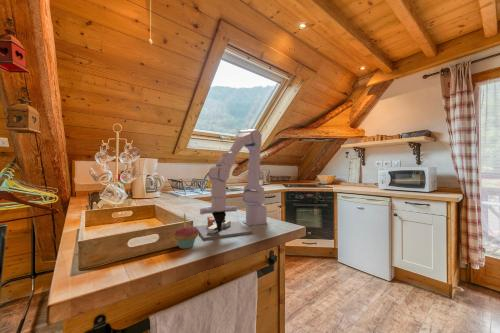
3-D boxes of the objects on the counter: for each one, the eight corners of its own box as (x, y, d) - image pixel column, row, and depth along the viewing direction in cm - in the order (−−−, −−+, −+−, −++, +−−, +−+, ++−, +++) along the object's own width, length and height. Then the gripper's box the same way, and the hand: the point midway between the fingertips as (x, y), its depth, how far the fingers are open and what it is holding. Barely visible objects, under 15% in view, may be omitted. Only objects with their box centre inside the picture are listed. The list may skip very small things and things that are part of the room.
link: (220, 223, 103) (220, 219, 103) (230, 225, 101) (230, 220, 101) (204, 232, 90) (204, 227, 90) (216, 234, 89) (216, 229, 89)
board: (238, 223, 108) (238, 221, 108) (252, 233, 94) (252, 231, 94) (195, 228, 100) (195, 226, 100) (203, 240, 85) (203, 237, 85)
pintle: (224, 225, 101) (224, 216, 101) (225, 226, 100) (225, 217, 99) (220, 226, 100) (220, 216, 100) (221, 227, 99) (222, 217, 99)
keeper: (211, 227, 102) (211, 216, 102) (215, 230, 97) (215, 218, 97) (207, 227, 101) (207, 216, 101) (210, 231, 96) (210, 219, 96)
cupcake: (196, 250, 76) (196, 214, 75) (169, 251, 75) (169, 214, 75) (200, 241, 84) (200, 208, 84) (176, 241, 84) (176, 209, 83)
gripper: (233, 194, 97) (233, 226, 97) (198, 196, 91) (198, 230, 91) (238, 196, 90) (238, 230, 91) (201, 198, 85) (201, 235, 85)
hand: (218, 230), depth 91 cm, fingers closed, pressing on link
